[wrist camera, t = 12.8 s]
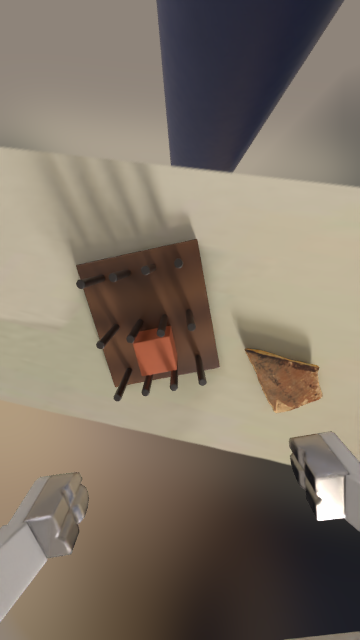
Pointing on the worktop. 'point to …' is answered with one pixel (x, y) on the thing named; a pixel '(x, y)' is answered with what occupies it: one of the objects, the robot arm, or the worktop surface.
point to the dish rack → (151, 310)
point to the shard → (285, 380)
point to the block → (155, 351)
